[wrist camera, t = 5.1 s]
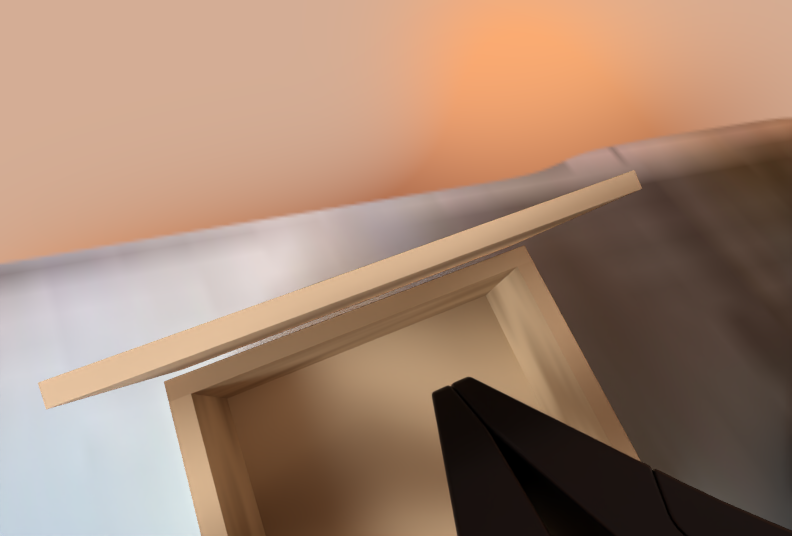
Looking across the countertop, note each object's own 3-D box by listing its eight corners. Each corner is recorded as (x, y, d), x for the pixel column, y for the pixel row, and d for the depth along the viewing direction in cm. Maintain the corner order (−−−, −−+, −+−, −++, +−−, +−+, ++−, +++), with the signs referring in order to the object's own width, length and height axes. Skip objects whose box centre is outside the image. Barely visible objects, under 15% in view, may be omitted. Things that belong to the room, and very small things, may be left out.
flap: (641, 188, 8) (634, 170, 8) (46, 409, 6) (37, 382, 6) (509, 246, 14) (505, 235, 14) (182, 369, 12) (178, 356, 12)
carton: (638, 579, 15) (735, 635, 11) (316, 780, 12) (299, 941, 9) (488, 280, 18) (524, 245, 14) (209, 389, 16) (163, 381, 12)
